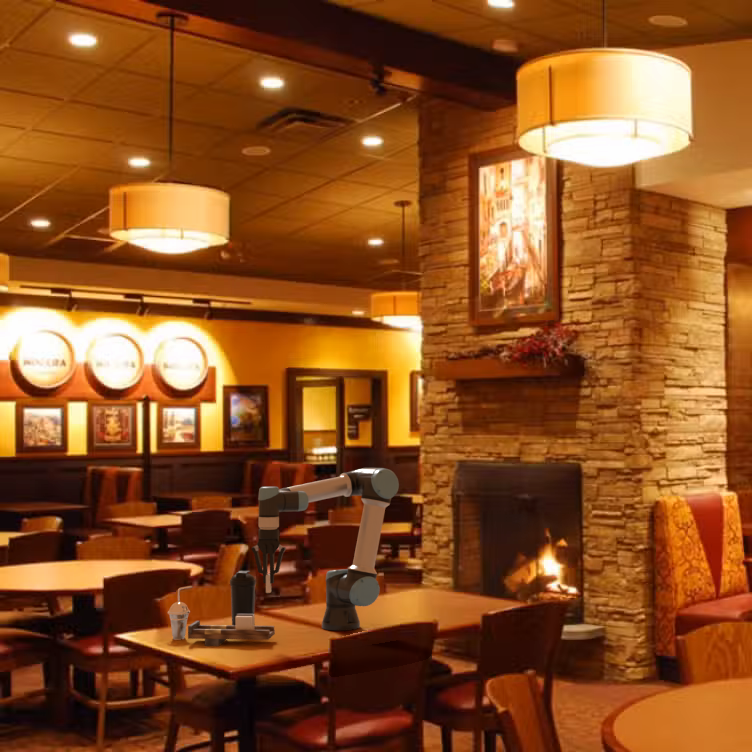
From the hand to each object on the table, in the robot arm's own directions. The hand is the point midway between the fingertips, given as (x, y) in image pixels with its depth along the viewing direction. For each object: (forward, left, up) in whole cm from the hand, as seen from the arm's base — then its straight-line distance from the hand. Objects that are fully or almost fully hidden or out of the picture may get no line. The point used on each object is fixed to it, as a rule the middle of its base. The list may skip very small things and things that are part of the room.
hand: (268, 592), depth 414 cm
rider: (+9, 0, -15) cm, 17 cm away
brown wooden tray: (+14, 0, -19) cm, 23 cm away
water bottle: (+16, -27, -19) cm, 37 cm away
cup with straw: (+36, -7, -19) cm, 41 cm away
